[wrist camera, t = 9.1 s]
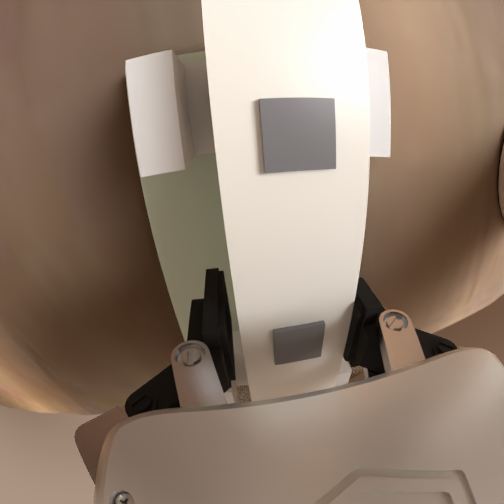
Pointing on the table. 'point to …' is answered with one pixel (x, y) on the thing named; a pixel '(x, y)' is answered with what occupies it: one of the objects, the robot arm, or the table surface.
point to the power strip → (291, 179)
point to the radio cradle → (203, 175)
